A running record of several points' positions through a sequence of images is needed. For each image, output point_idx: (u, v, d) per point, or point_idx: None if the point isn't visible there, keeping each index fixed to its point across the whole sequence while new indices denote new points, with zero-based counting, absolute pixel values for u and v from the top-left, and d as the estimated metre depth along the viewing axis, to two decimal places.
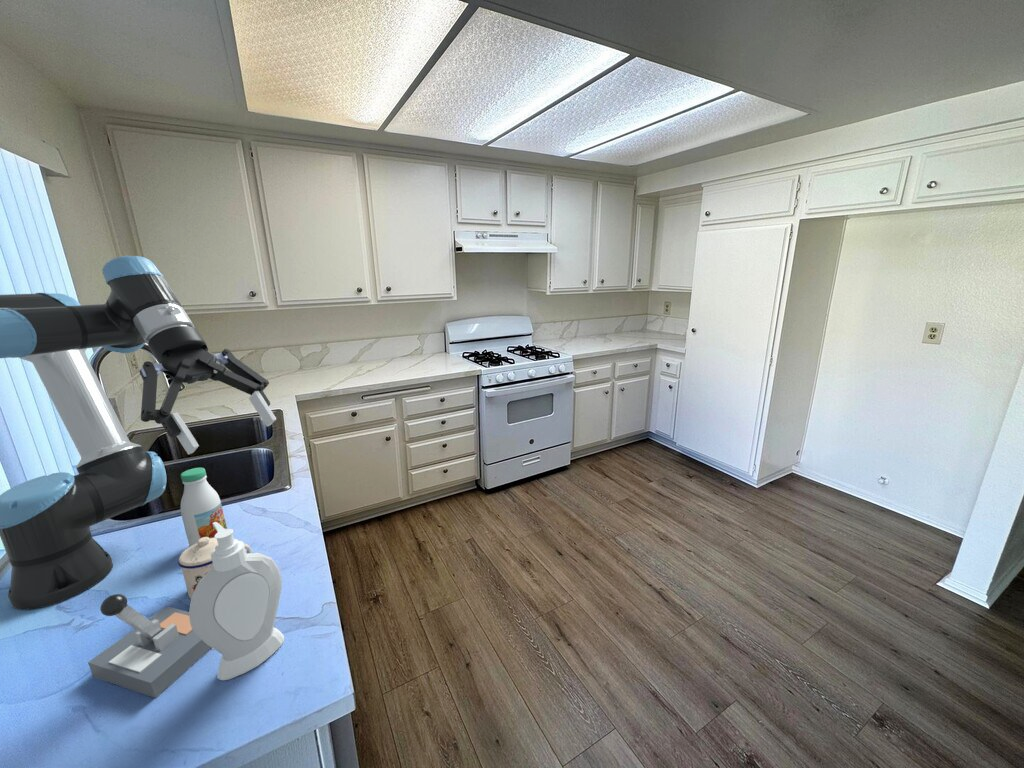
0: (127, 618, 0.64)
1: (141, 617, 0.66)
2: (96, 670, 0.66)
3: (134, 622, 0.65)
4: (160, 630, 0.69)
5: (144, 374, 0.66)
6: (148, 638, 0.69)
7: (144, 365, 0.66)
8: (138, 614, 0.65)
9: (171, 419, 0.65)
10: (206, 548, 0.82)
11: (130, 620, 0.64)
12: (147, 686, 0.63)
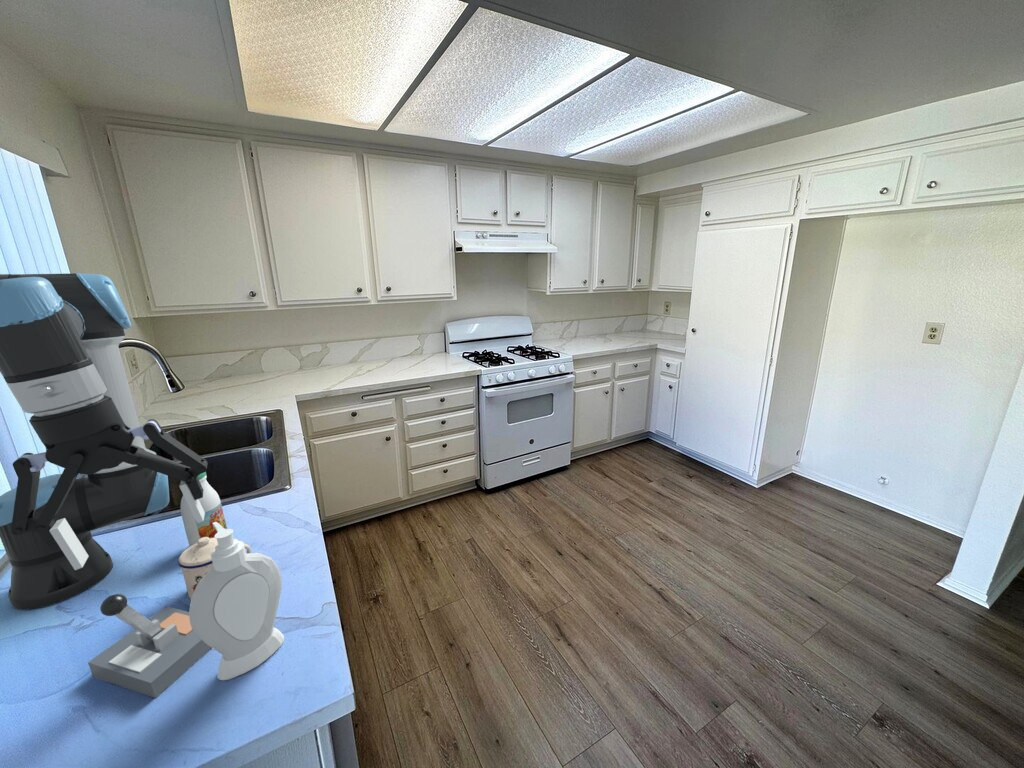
0: (127, 618, 0.64)
1: (141, 617, 0.66)
2: (96, 670, 0.66)
3: (134, 622, 0.65)
4: (160, 630, 0.69)
5: None
6: (148, 638, 0.69)
7: (14, 465, 0.49)
8: (138, 614, 0.65)
9: (51, 533, 0.52)
10: (206, 548, 0.82)
11: (130, 620, 0.64)
12: (147, 686, 0.63)
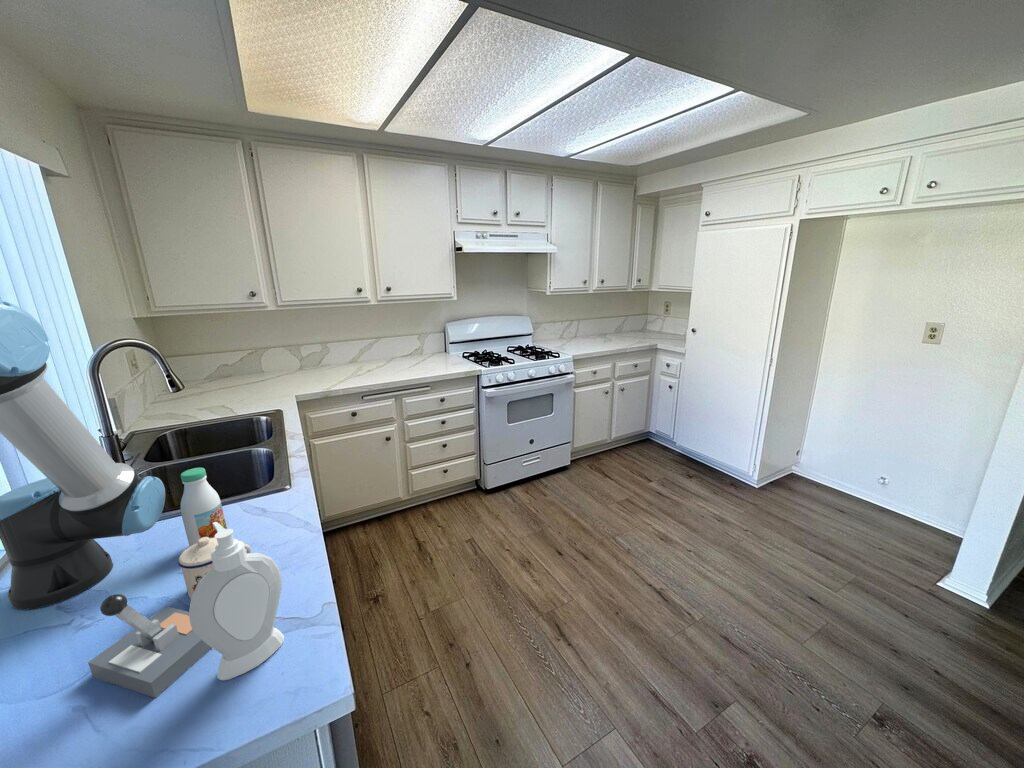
0: (127, 618, 0.64)
1: (141, 617, 0.66)
2: (96, 670, 0.66)
3: (134, 622, 0.65)
4: (160, 630, 0.69)
5: None
6: (148, 638, 0.69)
7: None
8: (138, 614, 0.65)
9: None
10: (206, 548, 0.82)
11: (130, 620, 0.64)
12: (147, 686, 0.63)
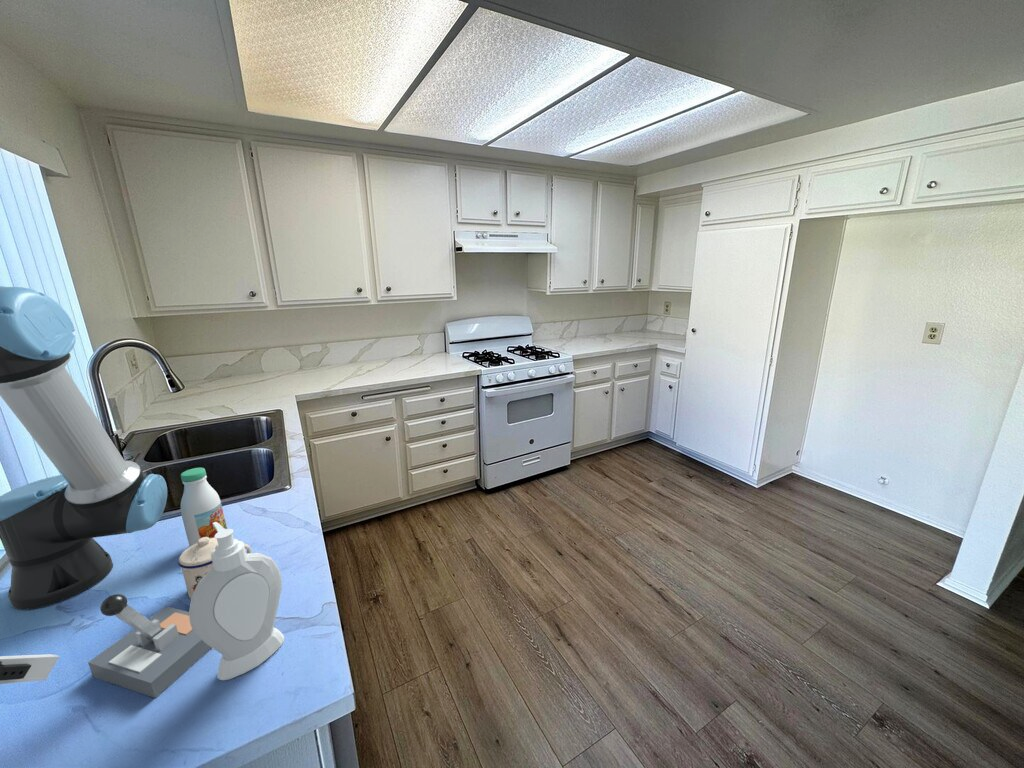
0: (127, 618, 0.64)
1: (141, 617, 0.66)
2: (96, 670, 0.66)
3: (134, 622, 0.65)
4: (160, 630, 0.69)
5: None
6: (148, 638, 0.69)
7: None
8: (138, 614, 0.65)
9: None
10: (206, 548, 0.82)
11: (130, 620, 0.64)
12: (147, 686, 0.63)
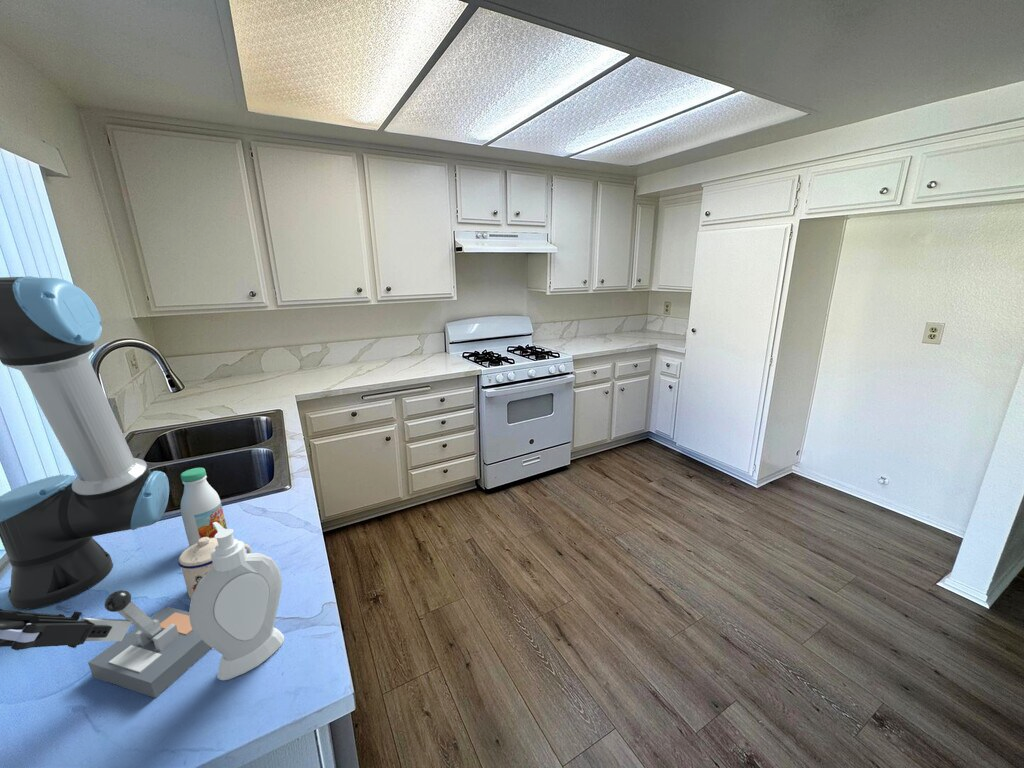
0: (130, 615, 0.64)
1: (143, 615, 0.66)
2: (96, 670, 0.66)
3: (136, 619, 0.65)
4: (161, 630, 0.69)
5: None
6: (148, 638, 0.69)
7: None
8: (141, 612, 0.66)
9: None
10: (206, 548, 0.82)
11: (132, 617, 0.65)
12: (147, 686, 0.63)
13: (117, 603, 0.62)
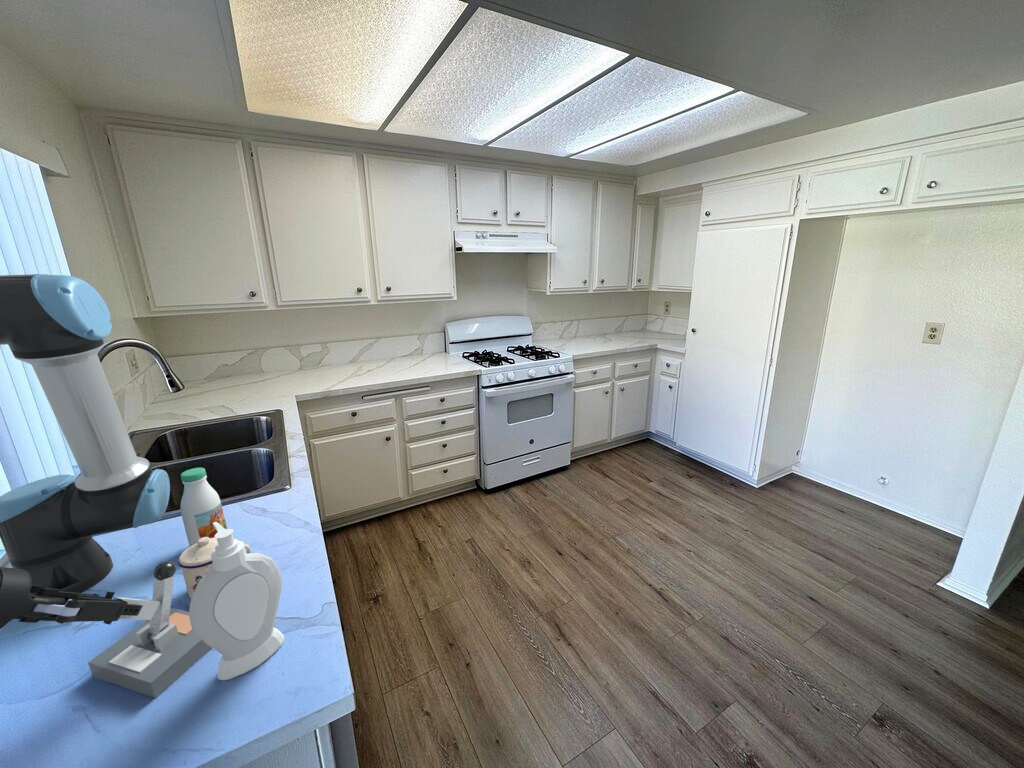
0: (164, 589, 0.69)
1: (169, 598, 0.70)
2: (96, 670, 0.66)
3: (164, 598, 0.69)
4: None
5: None
6: (149, 634, 0.69)
7: None
8: (170, 593, 0.70)
9: None
10: (206, 548, 0.82)
11: (164, 593, 0.69)
12: (147, 686, 0.63)
13: (167, 569, 0.69)
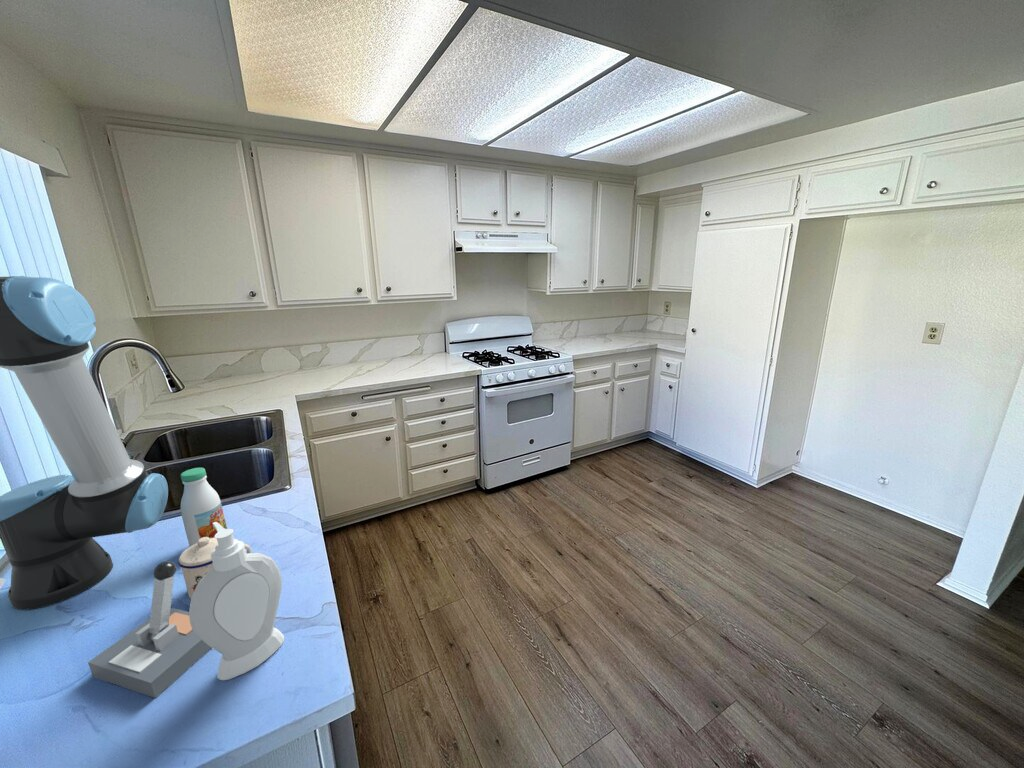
0: (164, 589, 0.69)
1: (169, 598, 0.70)
2: (96, 670, 0.66)
3: (164, 598, 0.69)
4: None
5: None
6: (149, 634, 0.69)
7: None
8: (170, 593, 0.70)
9: None
10: (206, 548, 0.82)
11: (164, 593, 0.69)
12: (147, 686, 0.63)
13: (167, 569, 0.69)
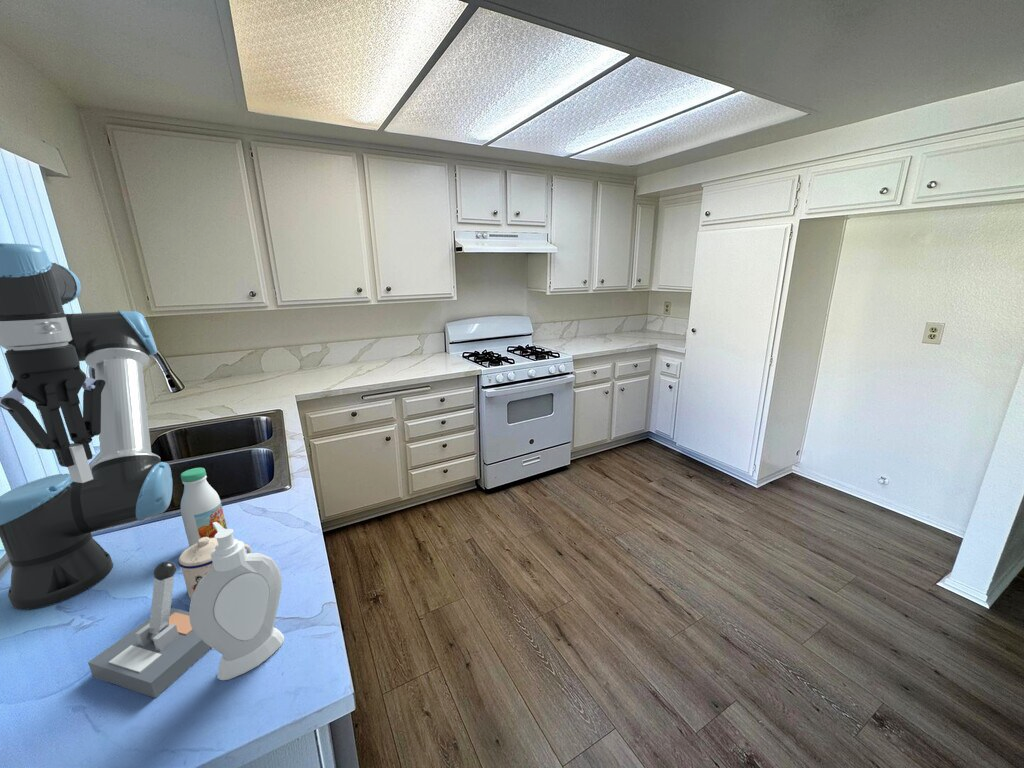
0: (164, 589, 0.69)
1: (169, 598, 0.70)
2: (96, 670, 0.66)
3: (164, 598, 0.69)
4: None
5: (8, 408, 0.62)
6: (149, 634, 0.69)
7: (6, 404, 0.61)
8: (170, 593, 0.70)
9: (68, 452, 0.68)
10: (206, 548, 0.82)
11: (164, 593, 0.69)
12: (147, 686, 0.63)
13: (167, 569, 0.69)
